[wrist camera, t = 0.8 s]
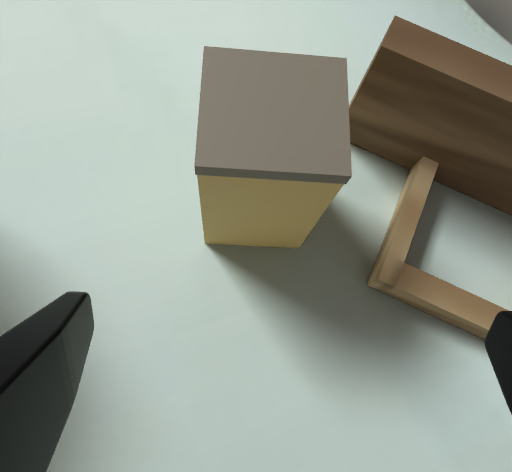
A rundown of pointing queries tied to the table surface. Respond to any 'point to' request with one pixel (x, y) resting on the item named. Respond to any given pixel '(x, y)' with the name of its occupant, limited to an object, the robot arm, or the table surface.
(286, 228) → the grey-topped square block
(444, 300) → the wall board
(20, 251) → the table surface
